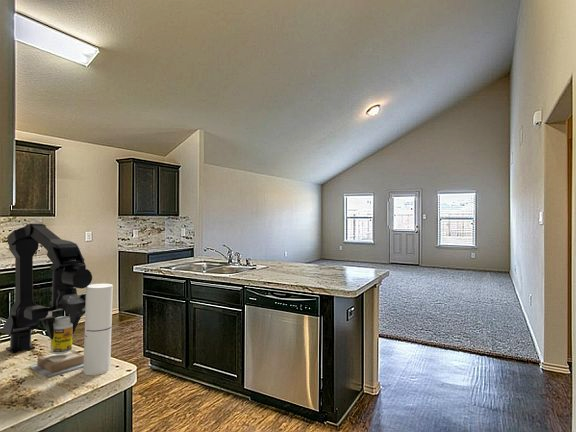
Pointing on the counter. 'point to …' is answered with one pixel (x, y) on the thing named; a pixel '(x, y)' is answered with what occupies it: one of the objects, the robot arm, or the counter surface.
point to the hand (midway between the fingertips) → (61, 336)
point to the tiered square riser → (58, 363)
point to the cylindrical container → (98, 329)
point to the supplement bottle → (62, 335)
